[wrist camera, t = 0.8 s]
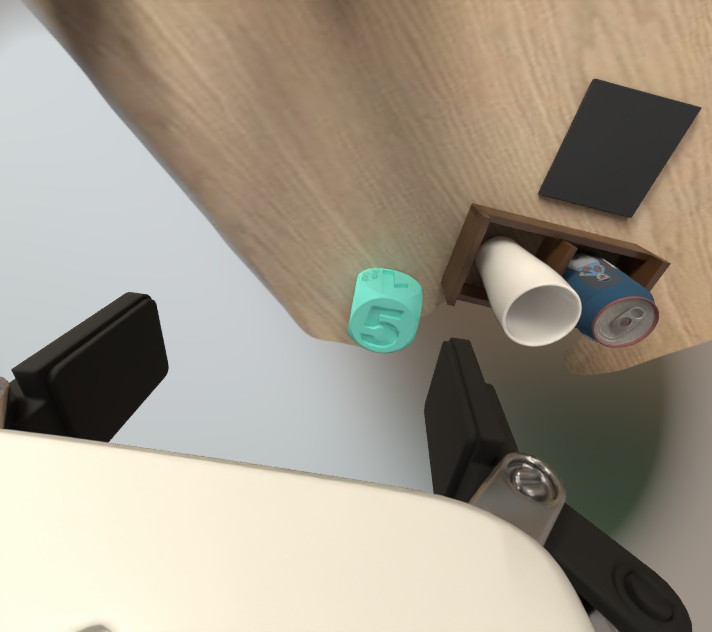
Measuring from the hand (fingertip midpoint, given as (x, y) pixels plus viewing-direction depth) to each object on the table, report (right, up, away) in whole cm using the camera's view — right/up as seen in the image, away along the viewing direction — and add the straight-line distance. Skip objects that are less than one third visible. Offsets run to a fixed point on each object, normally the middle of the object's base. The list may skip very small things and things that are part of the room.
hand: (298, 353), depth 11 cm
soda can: (+29, +7, +33) cm, 44 cm away
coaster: (+29, +18, +25) cm, 43 cm away
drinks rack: (+24, +8, +32) cm, 41 cm away
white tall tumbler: (+19, +9, +32) cm, 39 cm away
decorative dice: (+6, +4, +36) cm, 37 cm away
